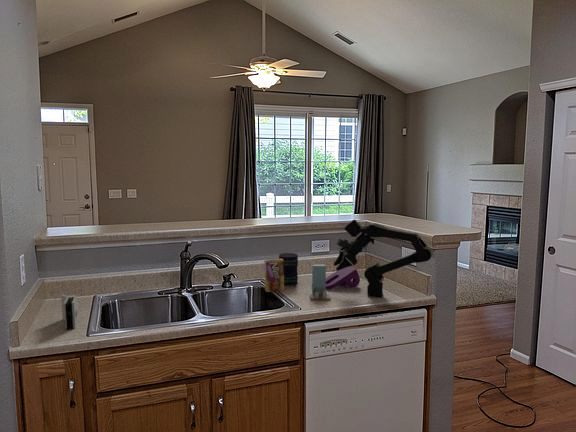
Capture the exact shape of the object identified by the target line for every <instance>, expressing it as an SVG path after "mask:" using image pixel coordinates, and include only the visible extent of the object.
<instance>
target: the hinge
mask: <svg viewBox="0 0 576 432" xmlns="http://www.w3.org/2000/svg"><path fill="white" fill-rule="evenodd" d="M60 297H61V299H60V300H61V313H62V317H61V318H62V321H64V326H65V330H66V331H69V330H74V329H76V328H77V325H78V323H79V303H78V297H77V295H75V294H71V295H67V294H61V295H60Z"/></svg>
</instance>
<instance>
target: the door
mask: <svg viewBox="0 0 576 432" xmlns="http://www.w3.org/2000/svg"><path fill="white" fill-rule="evenodd" d="M311 267H312V268H311V277H312V280H311V282H312V283H311V290H312V291H311V292H312V293H311V294H314V288H318V292H319V294H321V288H325V291H327V289H326V278H327V266H326V264H319V263H318V264H312V266H311Z"/></svg>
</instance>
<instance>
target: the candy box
mask: <svg viewBox="0 0 576 432" xmlns="http://www.w3.org/2000/svg"><path fill="white" fill-rule="evenodd" d="M264 291H265V292H266V293H273V292H284V291H285V286H284V260H283V259H279V258H271V259H264Z"/></svg>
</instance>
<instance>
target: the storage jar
mask: <svg viewBox="0 0 576 432" xmlns="http://www.w3.org/2000/svg"><path fill="white" fill-rule="evenodd" d="M298 256H299V254H297V253H294V252H282V253H279V254H278V259H283V260H284V287H292V286H293V287H294V286H297V285H298V284H299V283H298V280H299V276H298V275H299V273H298V266H299V258H298Z"/></svg>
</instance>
